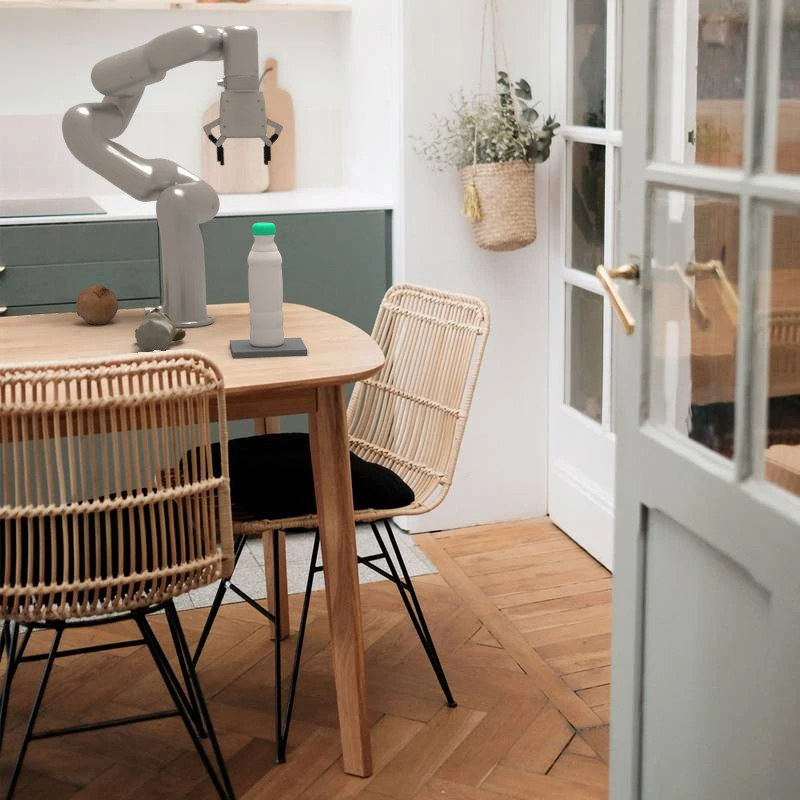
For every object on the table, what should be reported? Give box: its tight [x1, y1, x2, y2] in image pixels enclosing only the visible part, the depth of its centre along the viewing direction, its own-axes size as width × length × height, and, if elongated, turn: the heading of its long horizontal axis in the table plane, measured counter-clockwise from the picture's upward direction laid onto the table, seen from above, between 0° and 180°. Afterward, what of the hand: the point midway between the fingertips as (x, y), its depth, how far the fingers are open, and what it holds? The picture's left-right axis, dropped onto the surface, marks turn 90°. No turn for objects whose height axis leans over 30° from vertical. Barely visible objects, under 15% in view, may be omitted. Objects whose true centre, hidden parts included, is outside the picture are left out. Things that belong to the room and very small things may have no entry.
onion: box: [75, 284, 119, 325], centre depth 296 cm, size 10×9×10 cm
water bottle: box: [247, 222, 285, 347], centre depth 263 cm, size 7×7×25 cm
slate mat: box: [229, 337, 308, 359], centre depth 266 cm, size 15×13×1 cm
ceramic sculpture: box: [134, 308, 187, 352], centre depth 269 cm, size 11×9×15 cm
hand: (244, 164), depth 283 cm, fingers open, 9 cm apart
